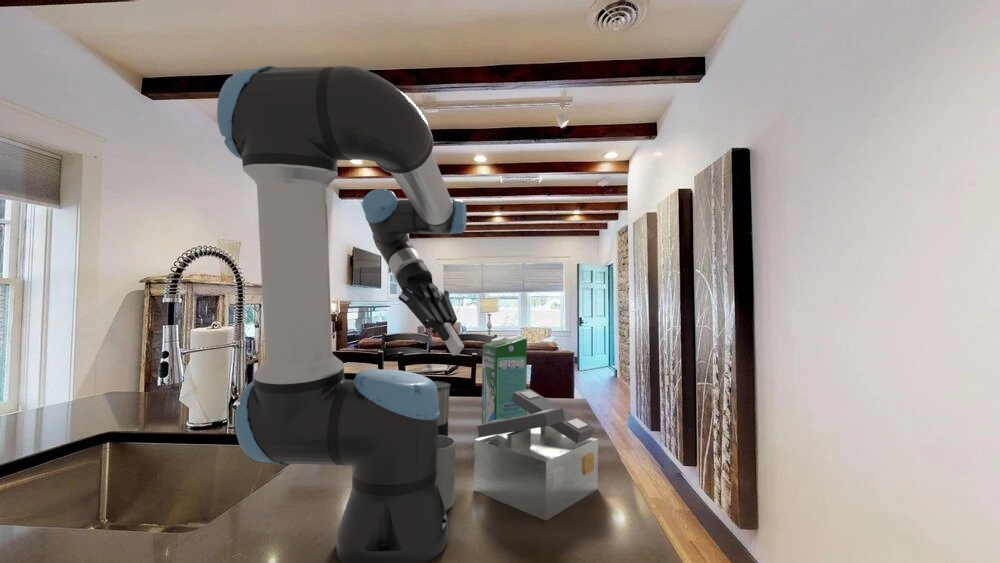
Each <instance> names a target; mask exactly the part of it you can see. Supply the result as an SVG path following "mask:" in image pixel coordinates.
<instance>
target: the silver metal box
mask: <svg viewBox="0 0 1000 563" xmlns="http://www.w3.org/2000/svg"><path fill="white" fill-rule="evenodd" d="M473 441H474V442H473V444H474V448H473V449H474V450H473V451H474V454H473V455H474V457H473V491H475V492H476V493H479V494H482V495H483V496H485V497H486V496H487V497H488V498H491V499H493V500H495V501H498V502H500V503H502V504H505V505H508V506H509V507H512V508H514V509H517V510H519V511H521V512H524V513H526V514H528V515H530V516H533V517H535V518H538V519H541V520H543V521H546V522H547V521H548V520H550V519H552V518H553V517H555V516H556V515H558V514H560V513H561V512H563V511H565V510H566V509H568V508H569V507H571V506H573V505H574V504H576V503H578V502H579V501H581V500H583V499H584V498H586V497H588V496H589V495H591V494H593V493H595V492H596V491H597V490H599V485H598V484H599V475H598V474H599V466H598V465H599V459H598V458H599V452H598V451H599V439H598V438H595V437H591V438H589V439H587V440H584V441H582V442H579V443H575V442H574V441H572V440H571V439H569V438H567V437H566V436H564V435H563V434H561V433H560V432H558V431H557V430H555V429H554V428H552V427H550V426H546V427H540V428H534V429H528V430H522V431H515V432H509V433H503V434H497V435H491V436H485V437H477V438H475V439H474V440H473Z"/></svg>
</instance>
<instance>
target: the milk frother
mask: <svg viewBox="0 0 1000 563" xmlns="http://www.w3.org/2000/svg"><path fill="white" fill-rule="evenodd" d="M432 381H433V380H432ZM433 382H434V383H435V385H436V387H437V391H438V409H439V412H440V414H439V417H438V435H443V436H448V437H449V412H450V411H449V410H450V409H449V408H450V387H451V383H448V382H445V381H437V380H434V381H433Z"/></svg>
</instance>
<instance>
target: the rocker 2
mask: <svg viewBox="0 0 1000 563" xmlns="http://www.w3.org/2000/svg"><path fill="white" fill-rule="evenodd" d="M511 401H512V402H513V403H515V404H516V405H518V406H519V407H521V408H523V409H524V410H526V413H529V414H534V413H537V412H541V411H545V410H550V409H560V408H562V406H560V405H558V404H556V403H555V402H553V401H551V400H549V399H547V398H546V397H544V396H542V395H541V394H539V393H537V392H536V391H534V390H533V389H531V388H526V389H525V390H520V391H516V392H514V393H513V396H512V400H511ZM563 412H564V416H565V421H562V422H559V423H556V424H553V425H550V427H552V428H554V429H555V430H557V431H558V432H560V433H561V434H563V435H564V436H566V437H567V438H569V439H571V440H572V441H574V442H575V443H579V442H582V441H584V440H587V439H589V438H593V435H594V430H595V426H594V425H592V424H589V423H588V422H587V421H584V420H583V419H581V418H579V417H578V416H576V415H574V414H573V413H571V412H569V411H568V410H566V409H564V408H563Z"/></svg>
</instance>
